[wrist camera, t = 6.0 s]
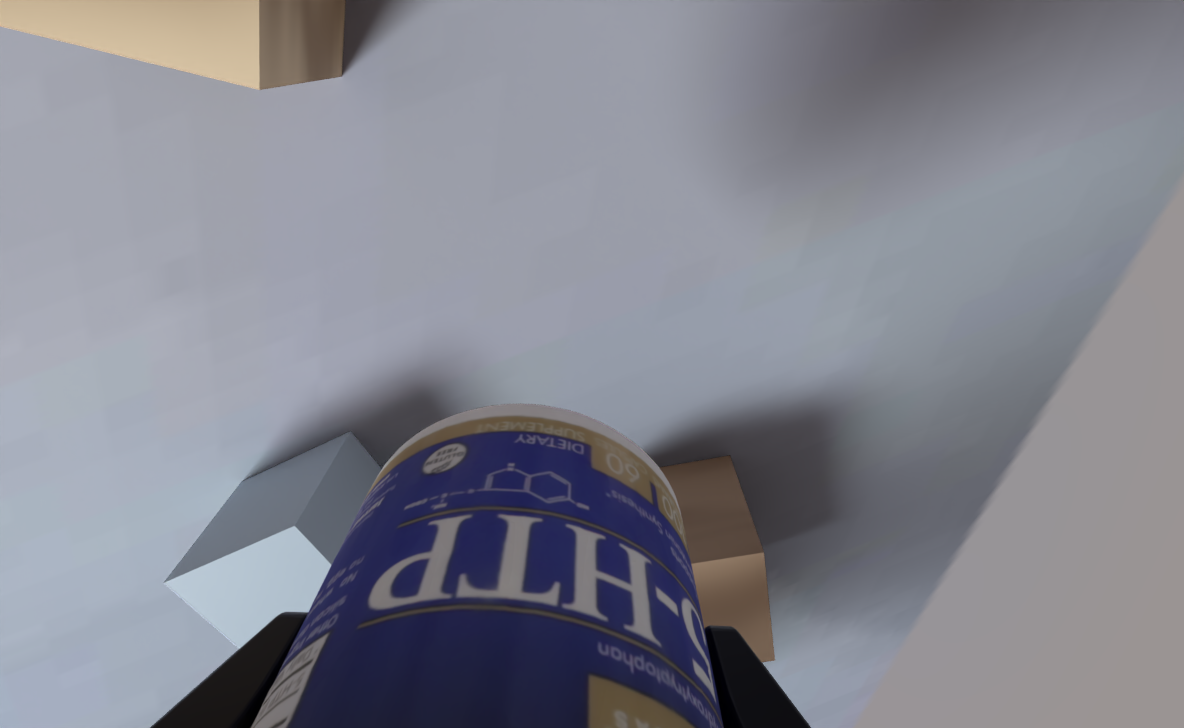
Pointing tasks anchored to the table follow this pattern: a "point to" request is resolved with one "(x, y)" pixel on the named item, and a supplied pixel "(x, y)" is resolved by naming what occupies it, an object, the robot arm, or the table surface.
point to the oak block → (200, 34)
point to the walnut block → (724, 550)
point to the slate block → (275, 539)
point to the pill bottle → (506, 589)
